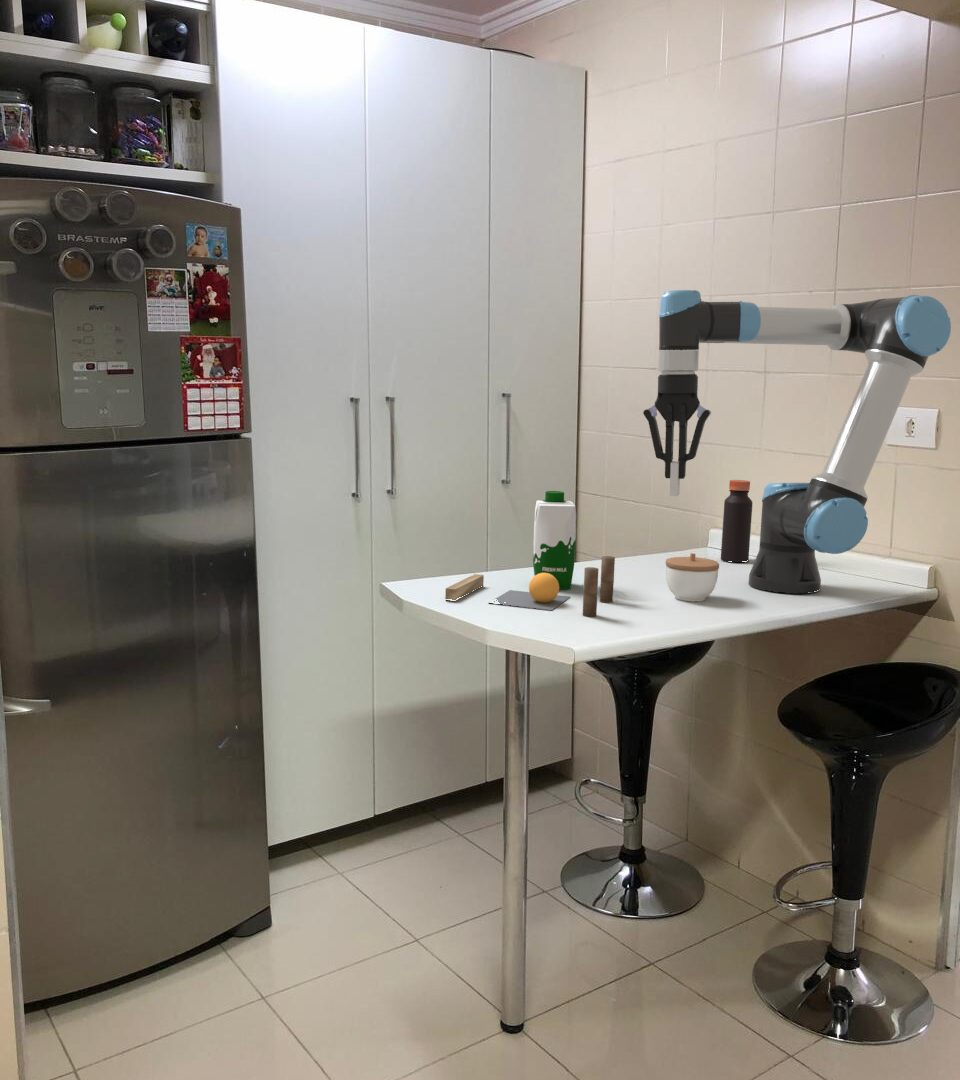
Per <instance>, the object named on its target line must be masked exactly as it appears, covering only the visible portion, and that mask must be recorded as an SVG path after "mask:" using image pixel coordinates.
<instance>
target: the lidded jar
mask: <svg viewBox="0 0 960 1080" xmlns="http://www.w3.org/2000/svg"><path fill="white" fill-rule="evenodd" d="M719 569H720V563H719V562H718V561H716V560H714V559H710V558H707V557H706V558H705V557H704V558H703V557H697V556H696V553H694V552H693V553H690V554H689V556H675V557H669V558H667V559H665V578H666V584H667V587H668V590H669V591H670V592H671V593H672V594H673V596H675V597H674V598H675V599H677V600H679V601H684V602H692V603H693V602H695V601H698V602H704V601H705V600H706V599H707V598H708V596H710V595H711V594H713V592H714V590H715V588H716V585H717V583H718V577H719V575H718V574H719ZM703 600H704V601H703Z"/></svg>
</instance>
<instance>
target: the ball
mask: <svg viewBox="0 0 960 1080" xmlns="http://www.w3.org/2000/svg"><path fill="white" fill-rule="evenodd" d="M559 591H560V589H559V583H558V581H557V579H556V578H555V577H554V576H553V575H551V574H549V573H539V574H537V575H535V576H533V577H532V578H531V580H530V582H529V585H528V592H530V595H531V596H532V598H533V599H534V600H536V601H537V602H540V603H548V602H551V601H552V600H554V599H555V598H556V597H557V595H559Z"/></svg>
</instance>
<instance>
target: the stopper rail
mask: <svg viewBox="0 0 960 1080" xmlns="http://www.w3.org/2000/svg"><path fill="white" fill-rule="evenodd" d="M484 577H485V576H484V574H477V573H475V574H472V575H470V576H467V577H466V578H464V579H462V580H460V581H458V582H456V583H454V584H452V585H449V586H448V587H446V588H445V596H444V597H445V599H452V600H456V599H457V598H459V597H462V596H464V595H466V594H468V593H470V592H472V591H473V590H475V589H477V588H479V587H481V586H483V587H484V582H485V581H484V580H485V579H484ZM472 593H473V592H472ZM470 594H471V593H470ZM468 595H469V594H468ZM445 599H444V600H445Z"/></svg>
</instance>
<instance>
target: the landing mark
mask: <svg viewBox="0 0 960 1080" xmlns="http://www.w3.org/2000/svg"><path fill="white" fill-rule="evenodd" d="M568 598H569V599H570V598H571V596H570V595H569V596H568V595H559V594H558V595H557V597H556V598H555V599H554V600H552V601H551V602H548V603H540V602H537V601H536V600H534V599H533V598H532V596H531V595H530V592H529V591H524V590H523V591H521V590H513V589H509V590H507V591H505V592H504V593H502V594H501V595H499V596H497V597H496V598H495V599H497V600H498V602H499V603H500V604H504V605H511V606H510V607H513V606H519V607H518V608H521V607H526V608H525V609H530V608H536V609H535V610H539V609H543V610H542V611H548V610H552V611H553V609H554V608H555V609H556V608H558V607H559V606H560V605H561V603H562V604H564V601H565V602H567V600H569V599H568ZM497 600H496V601H497ZM494 602H495V601H494ZM504 602H506V603H504ZM504 605H503V606H504ZM557 606H558V607H557ZM555 609H554V610H555Z"/></svg>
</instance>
